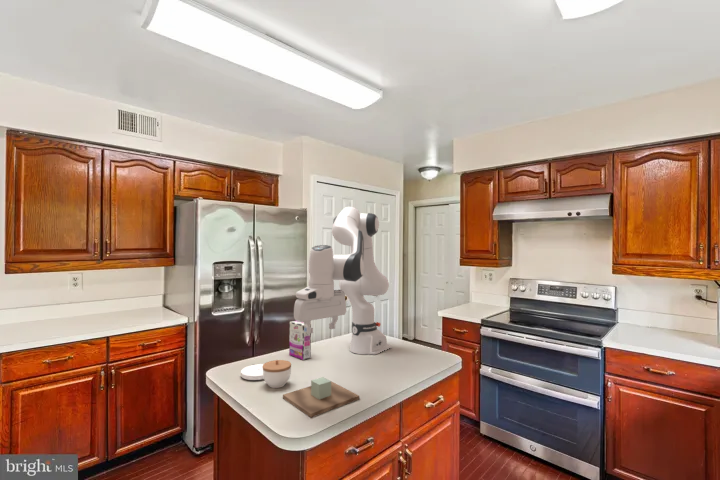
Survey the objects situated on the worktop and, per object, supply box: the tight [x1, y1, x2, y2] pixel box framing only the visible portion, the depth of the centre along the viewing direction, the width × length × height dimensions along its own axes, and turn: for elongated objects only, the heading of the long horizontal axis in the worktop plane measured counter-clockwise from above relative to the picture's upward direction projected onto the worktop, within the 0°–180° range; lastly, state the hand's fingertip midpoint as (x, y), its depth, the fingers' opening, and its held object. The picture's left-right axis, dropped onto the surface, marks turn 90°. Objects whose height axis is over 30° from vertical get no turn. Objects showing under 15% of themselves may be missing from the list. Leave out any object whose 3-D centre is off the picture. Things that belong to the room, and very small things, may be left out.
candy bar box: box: [288, 320, 312, 361], centre depth 167 cm, size 11×5×16 cm, turn 47°
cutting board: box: [282, 380, 360, 418], centre depth 122 cm, size 20×18×1 cm
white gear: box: [240, 363, 265, 381], centre depth 144 cm, size 14×14×2 cm
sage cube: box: [310, 376, 331, 400], centre depth 122 cm, size 5×5×5 cm
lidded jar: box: [263, 359, 292, 389], centre depth 134 cm, size 11×11×9 cm
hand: (321, 330), depth 122 cm, fingers open, 8 cm apart
